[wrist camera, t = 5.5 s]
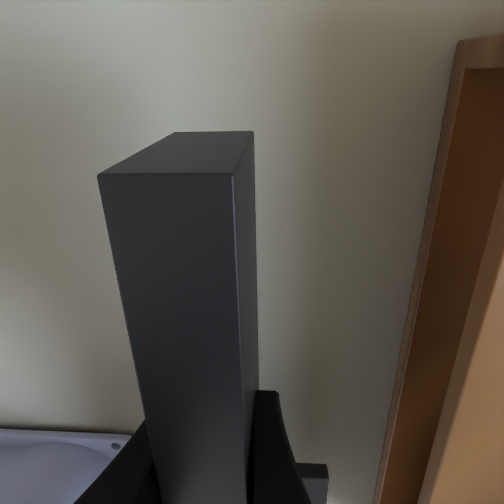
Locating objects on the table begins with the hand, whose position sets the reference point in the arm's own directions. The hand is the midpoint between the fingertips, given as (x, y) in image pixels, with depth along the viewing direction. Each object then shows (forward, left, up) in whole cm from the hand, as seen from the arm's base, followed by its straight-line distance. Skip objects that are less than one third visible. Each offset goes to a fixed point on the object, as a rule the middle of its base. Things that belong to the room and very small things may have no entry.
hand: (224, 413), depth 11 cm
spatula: (0, -3, -1) cm, 3 cm away
